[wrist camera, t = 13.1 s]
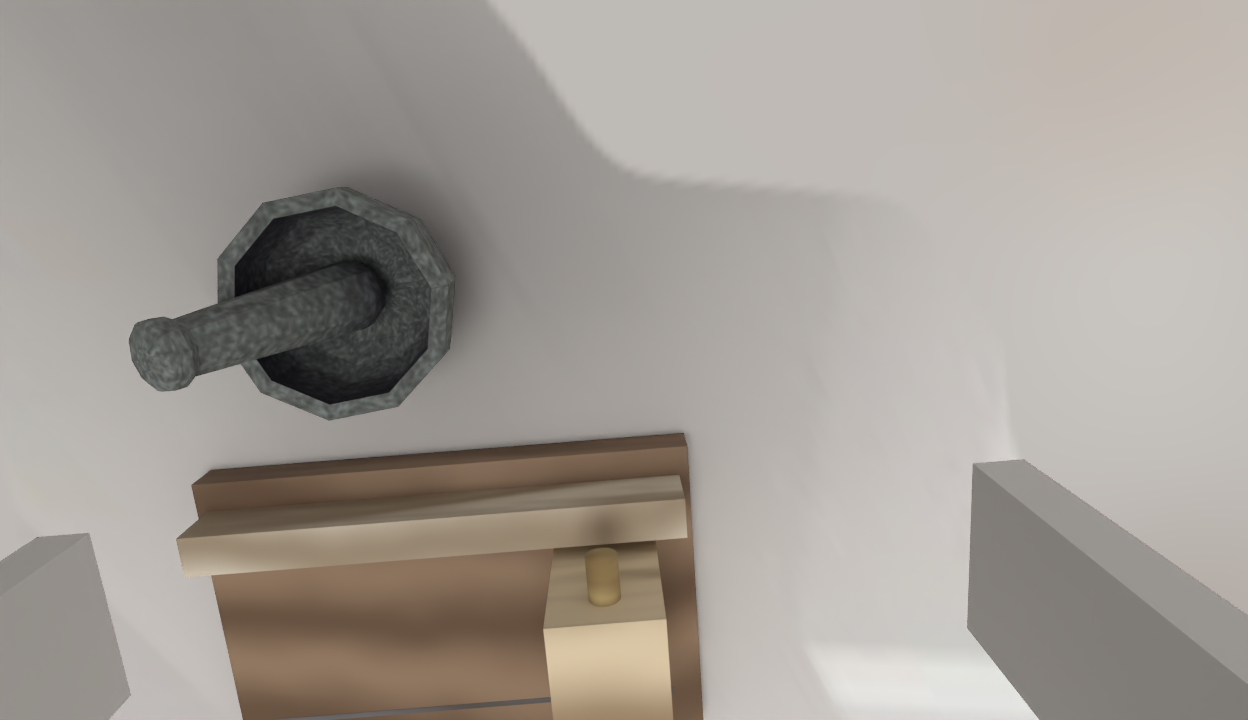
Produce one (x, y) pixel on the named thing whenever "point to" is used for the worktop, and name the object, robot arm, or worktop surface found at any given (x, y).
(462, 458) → the walnut board
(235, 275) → the mortar and pestle
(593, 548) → the marking gauge
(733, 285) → the worktop surface
